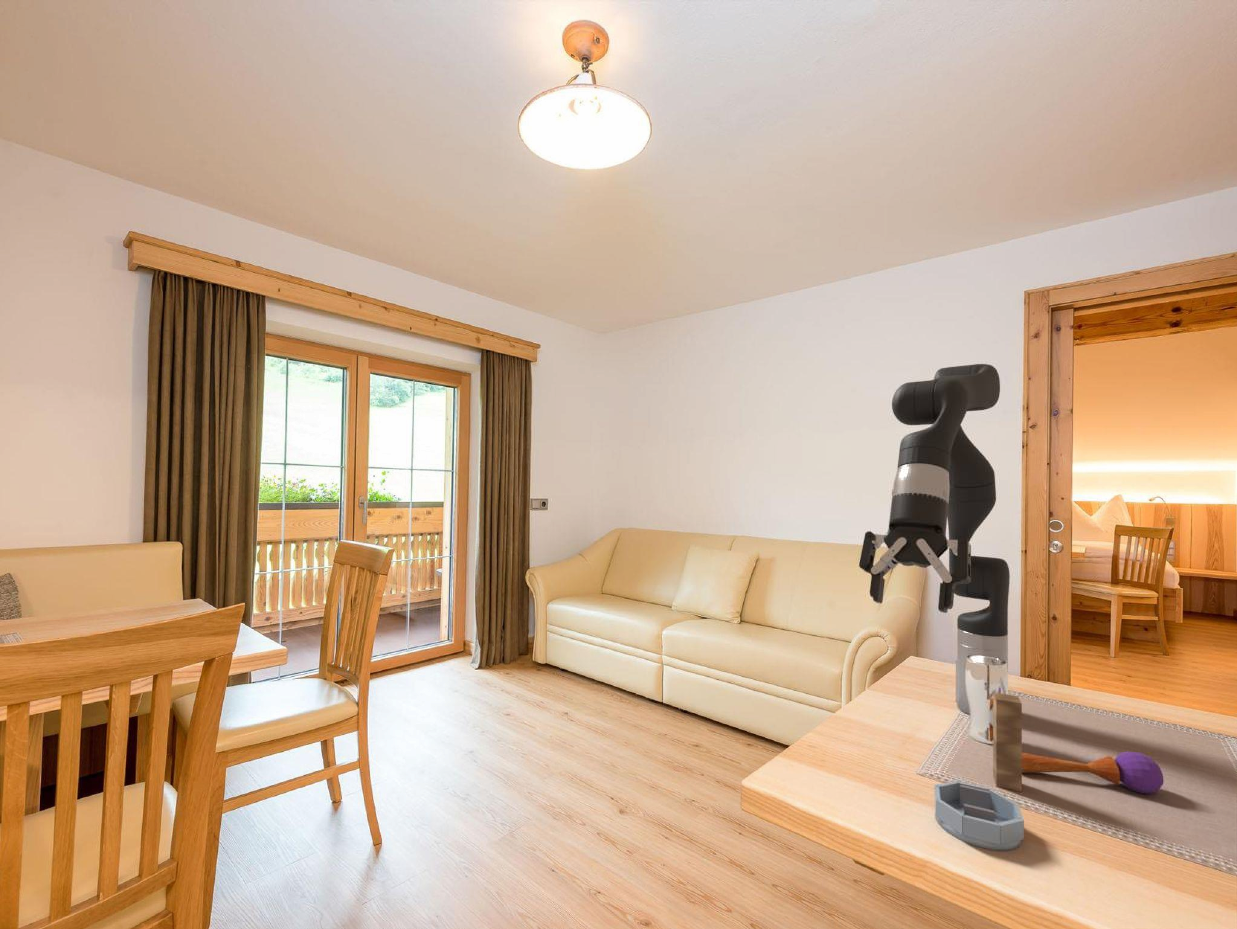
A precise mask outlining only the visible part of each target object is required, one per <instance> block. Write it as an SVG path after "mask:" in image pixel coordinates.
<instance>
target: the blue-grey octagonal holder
mask: <svg viewBox="0 0 1237 929" xmlns="http://www.w3.org/2000/svg"><path fill="white" fill-rule="evenodd" d="M933 787H934V788H933V791H934V793H933V794H934V816H935V818H934V819H935V821H936V822H937V823H938V825H939V826H940V828H942V829H943V830H945V832H947V833H948V834H950V835H951V836H953V837H955V838H956V839H957V840H960V841H962V842H964V843H967V844H969V845H972V846H975V847H978V848H981V849H986V850H991V851H1004V852H1005V851H1012V850H1016V849H1018V848H1019V847H1020V846H1021V844H1022V842H1023V841H1022V840H1024V839H1025V819H1024V817H1023V814H1022V812H1021V809H1020V805H1019V804H1018V803H1017V802H1015V801H1013V800H1011V799H1010V798H1008V797H1006V796H1005V795H1003V794H1001V793H999V792H997V791H995V790H994V789H992V788H990V787H987V786H982V785H977V784H974V783H973V784H972V783H968V782H964V781H958V780H953V781H947V782H942V783H939V784H934V786H933Z"/></svg>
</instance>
